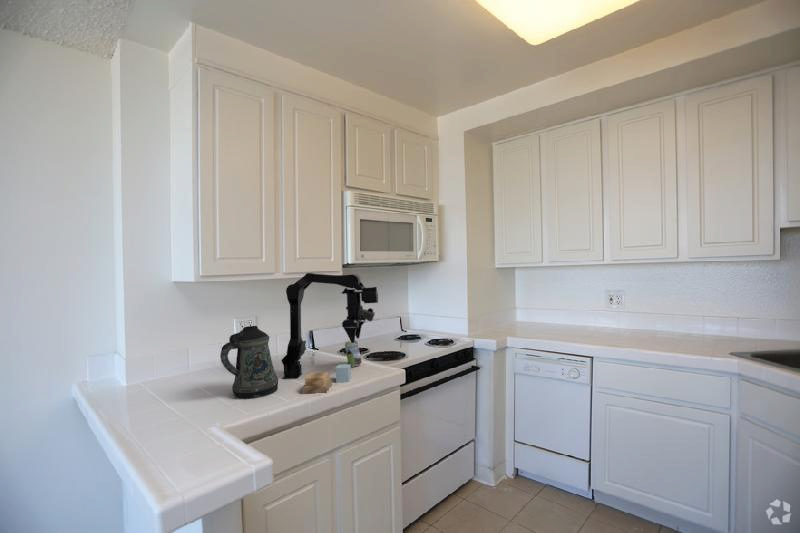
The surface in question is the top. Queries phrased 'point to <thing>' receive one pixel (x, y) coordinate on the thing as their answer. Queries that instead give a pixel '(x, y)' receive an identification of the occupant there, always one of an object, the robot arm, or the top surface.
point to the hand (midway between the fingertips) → (355, 340)
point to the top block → (317, 379)
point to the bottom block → (317, 388)
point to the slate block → (343, 373)
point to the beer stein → (250, 364)
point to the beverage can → (353, 353)
